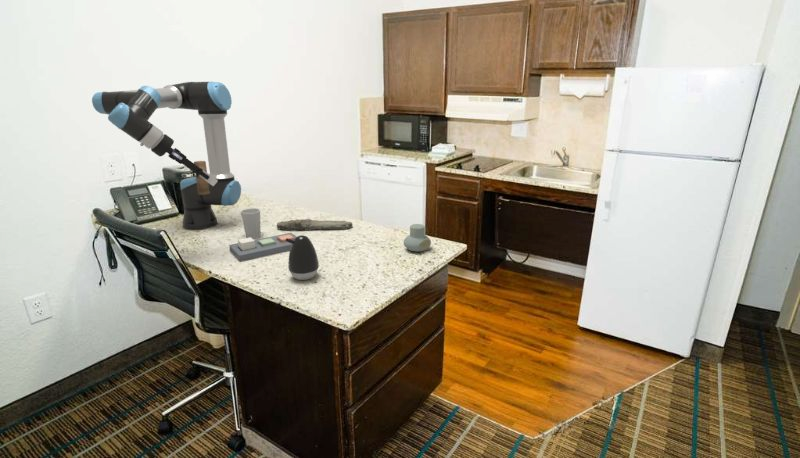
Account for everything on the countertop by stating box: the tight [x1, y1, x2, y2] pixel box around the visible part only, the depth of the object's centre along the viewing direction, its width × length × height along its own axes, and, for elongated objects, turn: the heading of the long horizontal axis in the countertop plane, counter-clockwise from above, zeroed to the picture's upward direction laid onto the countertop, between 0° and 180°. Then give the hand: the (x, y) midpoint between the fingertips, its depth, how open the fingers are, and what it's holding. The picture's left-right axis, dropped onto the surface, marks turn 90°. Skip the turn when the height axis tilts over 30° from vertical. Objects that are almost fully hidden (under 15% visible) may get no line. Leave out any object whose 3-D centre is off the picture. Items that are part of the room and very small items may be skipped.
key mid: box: [259, 238, 275, 247], centre depth 174 cm, size 5×5×3 cm
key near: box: [237, 237, 255, 251], centre depth 169 cm, size 5×5×3 cm
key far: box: [278, 235, 294, 243], centre depth 178 cm, size 5×5×3 cm
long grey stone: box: [276, 218, 353, 232], centre depth 200 cm, size 35×5×10 cm
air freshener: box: [403, 223, 432, 253], centre depth 172 cm, size 11×8×10 cm
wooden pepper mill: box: [193, 160, 210, 195], centre depth 161 cm, size 4×4×12 cm
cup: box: [240, 207, 262, 240], centre depth 187 cm, size 8×8×12 cm
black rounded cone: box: [286, 234, 320, 281], centre depth 147 cm, size 10×10×15 cm
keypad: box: [228, 232, 298, 262], centre depth 174 cm, size 14×26×2 cm, turn 126°
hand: (213, 182), depth 164 cm, fingers closed on wooden pepper mill, 4 cm apart
